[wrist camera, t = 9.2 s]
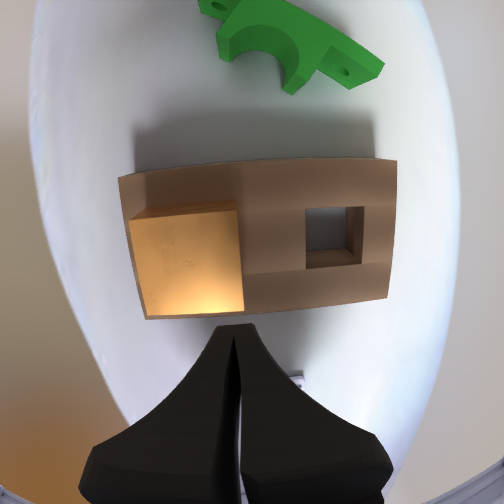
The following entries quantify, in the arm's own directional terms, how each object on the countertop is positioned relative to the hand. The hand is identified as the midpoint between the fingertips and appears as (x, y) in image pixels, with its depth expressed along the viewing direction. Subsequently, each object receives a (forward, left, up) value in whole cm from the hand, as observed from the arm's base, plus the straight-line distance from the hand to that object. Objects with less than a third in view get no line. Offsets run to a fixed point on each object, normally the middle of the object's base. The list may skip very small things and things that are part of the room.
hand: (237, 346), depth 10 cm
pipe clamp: (+13, -3, -11) cm, 17 cm away
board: (+2, -2, -10) cm, 10 cm away
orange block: (+2, +2, -10) cm, 10 cm away
